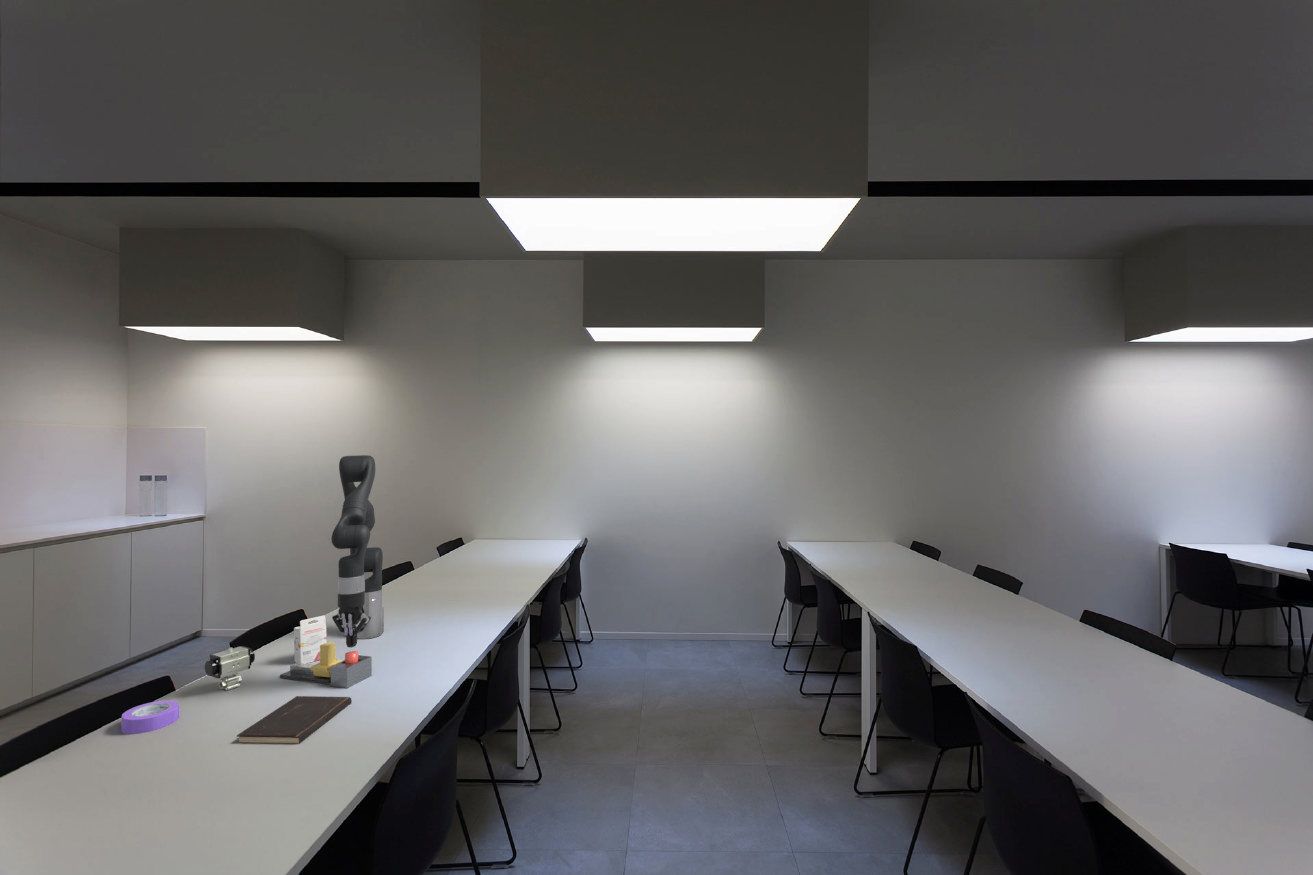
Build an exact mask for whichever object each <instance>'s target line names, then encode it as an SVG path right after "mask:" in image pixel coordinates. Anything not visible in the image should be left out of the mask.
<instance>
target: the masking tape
mask: <svg viewBox="0 0 1313 875" xmlns="http://www.w3.org/2000/svg"><path fill="white" fill-rule="evenodd" d="M179 718H180V703H179V702H178V701H177V700H171V699H170V700H169V699H168V700H167V699H166V700H158V701H152V702H151V701H150V702H147V703H143V704H140V705H137V706H134V707H132V708H130V709H128V710H126V711H125V712H123V713H122V714H121V732H122V734H128V735H136V734H143V733H151V732H153V731H157V730H160V729H164V728H166V727H167V726H168V727H169V726H170V725H172V724H174V723H176V722H177V721H178V720H179Z"/></svg>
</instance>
